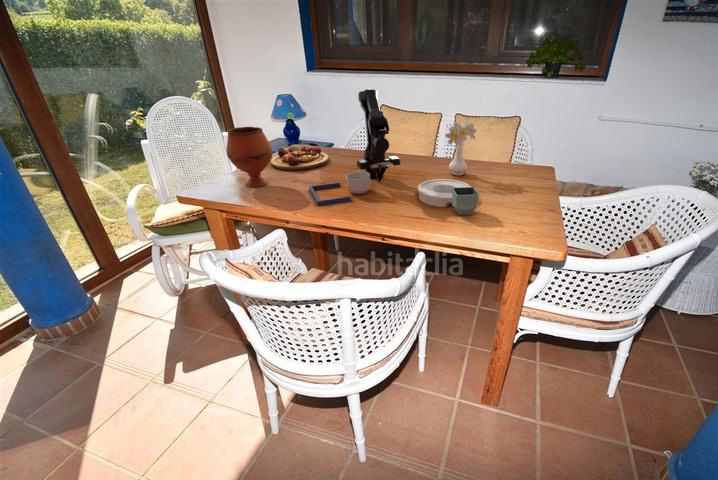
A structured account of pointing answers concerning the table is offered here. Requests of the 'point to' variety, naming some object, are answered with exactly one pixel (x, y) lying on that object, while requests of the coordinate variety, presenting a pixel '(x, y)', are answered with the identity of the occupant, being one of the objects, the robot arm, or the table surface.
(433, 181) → the ashtray
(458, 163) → the flower vase
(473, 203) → the flower pot
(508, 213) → the table surface
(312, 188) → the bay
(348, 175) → the teacup
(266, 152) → the goblet
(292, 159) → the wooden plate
